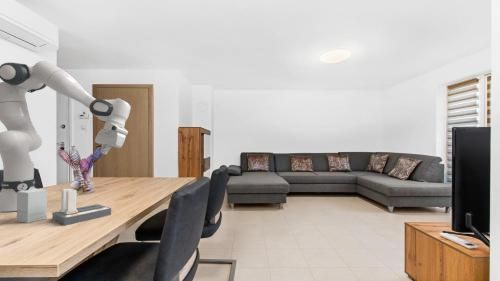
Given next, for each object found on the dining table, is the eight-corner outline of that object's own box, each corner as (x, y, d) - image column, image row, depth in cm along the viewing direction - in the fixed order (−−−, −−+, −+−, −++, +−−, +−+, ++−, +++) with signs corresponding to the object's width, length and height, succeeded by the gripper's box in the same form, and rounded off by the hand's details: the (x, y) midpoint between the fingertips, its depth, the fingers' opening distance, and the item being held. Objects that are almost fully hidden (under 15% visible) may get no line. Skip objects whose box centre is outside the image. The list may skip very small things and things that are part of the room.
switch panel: (52, 219, 103) (52, 211, 103) (97, 210, 118) (97, 203, 118) (64, 225, 96) (64, 217, 96) (110, 214, 111) (111, 207, 111)
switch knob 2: (64, 213, 101) (64, 191, 101) (75, 211, 105) (75, 189, 105) (66, 214, 100) (67, 191, 100) (77, 212, 103) (78, 190, 103)
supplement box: (47, 218, 105) (47, 189, 106) (26, 223, 98) (27, 192, 99) (36, 216, 108) (36, 188, 108) (15, 221, 101) (16, 191, 101)
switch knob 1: (59, 211, 104) (60, 189, 104) (70, 209, 107) (70, 188, 107) (61, 212, 103) (62, 190, 103) (72, 210, 106) (73, 188, 106)
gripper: (97, 124, 129) (87, 149, 126) (119, 128, 118) (108, 154, 115) (108, 129, 134) (98, 152, 131) (130, 132, 124) (120, 158, 121)
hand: (103, 153), depth 123 cm, fingers closed
